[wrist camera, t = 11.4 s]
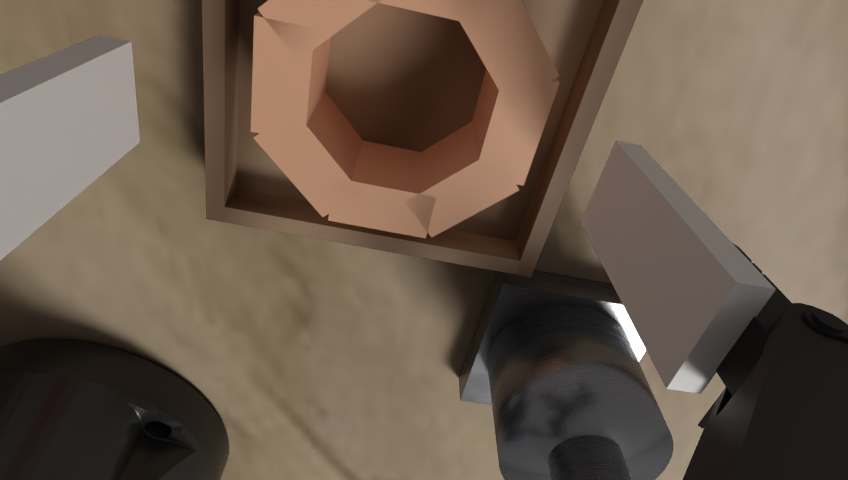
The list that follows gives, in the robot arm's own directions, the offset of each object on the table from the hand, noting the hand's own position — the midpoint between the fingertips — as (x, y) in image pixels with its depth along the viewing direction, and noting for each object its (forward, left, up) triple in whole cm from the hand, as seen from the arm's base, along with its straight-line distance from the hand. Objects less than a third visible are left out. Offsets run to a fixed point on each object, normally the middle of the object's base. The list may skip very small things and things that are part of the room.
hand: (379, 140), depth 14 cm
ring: (0, 0, -6) cm, 6 cm away
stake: (+10, -12, -7) cm, 17 cm away
